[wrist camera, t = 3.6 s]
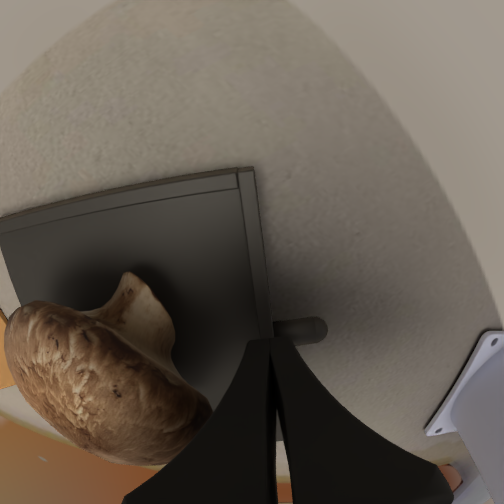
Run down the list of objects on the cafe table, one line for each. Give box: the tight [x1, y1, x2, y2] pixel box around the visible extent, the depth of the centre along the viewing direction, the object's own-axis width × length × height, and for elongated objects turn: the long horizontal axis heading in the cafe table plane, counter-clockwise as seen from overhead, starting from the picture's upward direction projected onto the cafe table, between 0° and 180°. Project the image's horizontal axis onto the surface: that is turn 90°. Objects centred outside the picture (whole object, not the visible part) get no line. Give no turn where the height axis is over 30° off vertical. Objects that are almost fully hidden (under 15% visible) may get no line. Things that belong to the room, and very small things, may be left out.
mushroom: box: [4, 271, 213, 465], centre depth 10 cm, size 8×8×6 cm
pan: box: [0, 167, 328, 441], centre depth 12 cm, size 14×12×2 cm
